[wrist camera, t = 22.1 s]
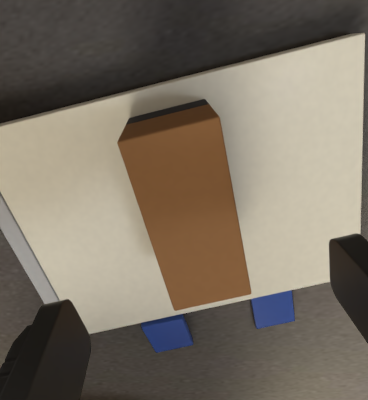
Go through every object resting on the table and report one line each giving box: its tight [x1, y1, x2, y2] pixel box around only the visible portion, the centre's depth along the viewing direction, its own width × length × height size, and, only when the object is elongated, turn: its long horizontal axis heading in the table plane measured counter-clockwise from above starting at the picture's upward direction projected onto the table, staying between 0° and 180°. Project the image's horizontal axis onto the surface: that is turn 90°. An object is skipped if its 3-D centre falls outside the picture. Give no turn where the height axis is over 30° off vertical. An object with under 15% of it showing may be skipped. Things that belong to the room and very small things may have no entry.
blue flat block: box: [251, 290, 295, 329], centre depth 24 cm, size 4×3×1 cm
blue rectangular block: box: [141, 314, 193, 353], centre depth 23 cm, size 4×3×1 cm
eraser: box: [117, 99, 251, 311], centre depth 16 cm, size 4×9×4 cm, turn 13°
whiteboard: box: [0, 33, 365, 334], centre depth 19 cm, size 15×21×1 cm
